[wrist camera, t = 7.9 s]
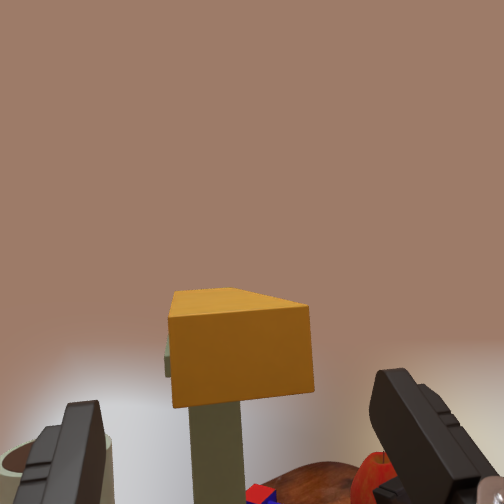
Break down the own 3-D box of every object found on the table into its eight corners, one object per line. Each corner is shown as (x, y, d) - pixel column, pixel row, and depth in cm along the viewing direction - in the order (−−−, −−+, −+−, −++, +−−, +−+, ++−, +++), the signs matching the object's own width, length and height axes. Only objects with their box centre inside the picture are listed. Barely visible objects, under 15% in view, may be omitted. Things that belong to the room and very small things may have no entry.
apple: (342, 546, 50) (335, 454, 51) (372, 513, 57) (366, 432, 57) (411, 576, 45) (403, 472, 46) (436, 536, 51) (429, 445, 52)
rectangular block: (172, 409, 11) (167, 315, 12) (176, 327, 29) (174, 291, 29) (315, 392, 12) (309, 304, 12) (234, 322, 30) (232, 287, 30)
